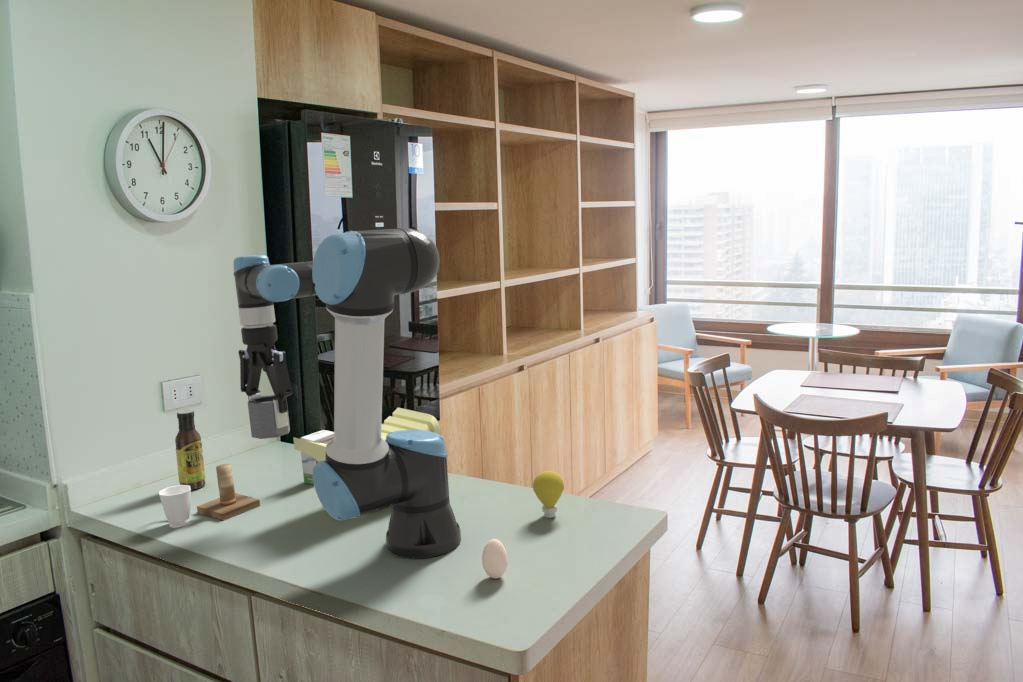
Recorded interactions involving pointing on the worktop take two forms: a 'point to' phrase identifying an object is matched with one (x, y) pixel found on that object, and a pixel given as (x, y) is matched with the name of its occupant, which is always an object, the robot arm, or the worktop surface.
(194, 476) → the sauce bottle
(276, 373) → the robot arm
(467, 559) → the worktop surface
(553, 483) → the light bulb
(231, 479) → the post
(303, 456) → the ink box
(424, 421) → the slatted curved stool
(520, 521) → the worktop surface
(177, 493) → the cup
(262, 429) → the grey hollow octagonal piece
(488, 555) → the egg
